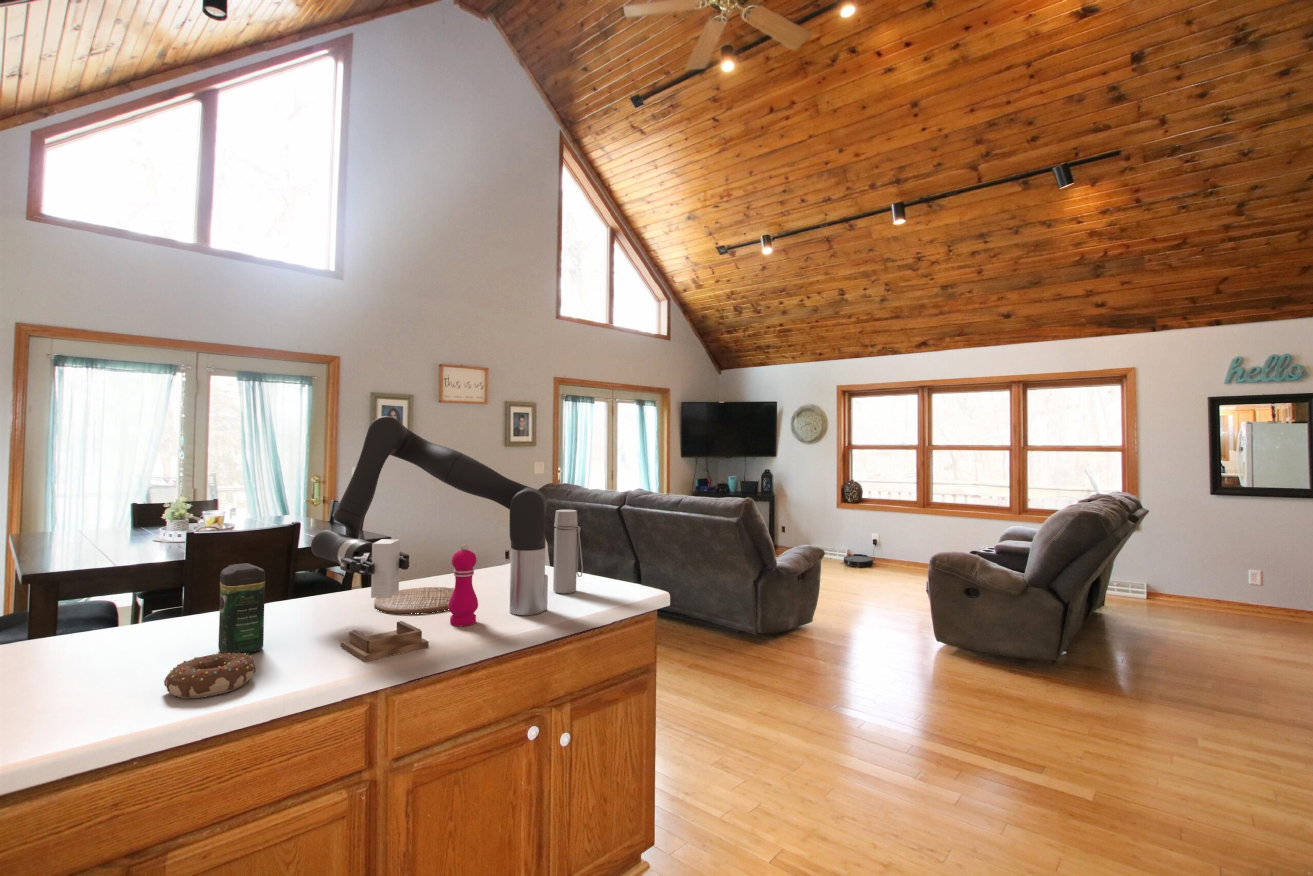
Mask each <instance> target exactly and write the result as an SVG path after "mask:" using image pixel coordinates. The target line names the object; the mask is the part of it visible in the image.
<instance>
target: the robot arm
mask: <svg viewBox="0 0 1313 876" xmlns="http://www.w3.org/2000/svg"><path fill="white" fill-rule="evenodd" d="M390 456H392V457H395V458H397V459H401V460H402V461H406V462H408V463H411V464H413V465H415V466H416V467H418V468H420V469H422V470H423V471H425V472H426V473H427V474H429V475H430V476H432V477H434V478H435V479H436V480H437V479H438V481H441V482H443V483H444V484H446V485H448V486H451V488H454V489H457V490H458V491H461V492H464V493H467V494H470V495H473V496H476V497H479V498H483V499H487V500H490V501H492V502H495V503H498V504H499V505H501V506H503V507H504V508H506V509H508V510H509V540H510V569H509V570H510V579H509V613H510V614H512V615H516V614H517V615H516V616H533V614H534V615H538V614H542V613H543V612H545V611H548V593H549V592H548V589H549V588H548V581H549V579H548V578H549V577H548V574H546V569H545V568H546V535H545V533H546V532H545V515H546V514H545V513H546V512H547V509H548V500H547V498H546V496H545V494H544V493H543V492H542V491H541V490H539V489H537V488H533V487H531V486H527V485H526V484H522V483H520V482H517V481H515V480H512V479H510V478H507V477H506V476H504V475H502V474H500V473H499V472H498V471H496V470H495V469H492V468H491V467H489V466H487V465H486V464H484V463H482V462H480V461H479V460H476V458H473V457H471V456H469V455H467V454H465V453H462V452H461V451H457V450H455V449H452V448H450V447H447V446H445V445H444V446H443V445H440V444H436V443H433V442H431V441H429V440H427V439H424V438H423V437H421V436H420V435H418V434H417V433H414V432H413V431H411V429H408V428H407V427H406V426H405V424H403V423H402V422H400V421H399V420H398V419H397V418H395V417H393V416H390V415H383V416H382V415H381V416H379V417H377V418H375V419H374V420H373V421H372V422H371V423H370V425H369V427H368V429H367V432H366V436H365V438H364V443H363V446H362V449H361V452H360V456H359V458H358V461H357V464H356V467H355V469H354V472H353V473H352V476H351V478H350V481H349V482H348V485H347V487H346V489H345V491H344V494H343V495H342V497H341V499H340V501H339V503H338V505H337V507H336V510H335V512H334V514H333V519H334V521H336V522H337V523H339V524H340V525H342V526H343V527H344V528H345V534H343V533H340V532H337V531H334V530H330V529H324V530H321V531H319V532H318V533H316V534H315V535H314V536H313V538H312V540H311V543H310V549H311V552H312V554H313V555H314V556H316V557H317V558H320V559H321V558H322V559H325V560H328V561H331V562H334V563H337V564H338V565H340V570H341V571H344V572H346V573H350V574H358V575H363V576H367V575H372V574H374V569H375V565H374V564H373V563H372V544H373V543H374V542H372V541H367V540H365V539H361V538H360V534H361V529H362V524H363V521H364V519H365V517H366V515H367V513H368V512H369V509H370V506H371V504H372V503H373V499H374V496H375V494H376V489H377V486H378V482H379V478H380V475H381V471H382V469H383V467H384V465H385V462H386V461H387V459H388V457H390ZM409 568H410V554H408V553H405V552H402V551H400V552H399V569H401V570H408V569H409Z"/></svg>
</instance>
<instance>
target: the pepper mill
mask: <svg viewBox="0 0 1313 876" xmlns="http://www.w3.org/2000/svg"><path fill="white" fill-rule="evenodd" d="M468 549H469V546H468V544H467V543H463V544H462V545H460V550H458V551H456V552H455V553H454V554H453V555H452V557H451V565H452V567H453V568H454V569H453V572H454V573H453V577H455V578H454V579H455V583H454V591H453V594H452V596H451V598H450V601H449V606H448V608H449V610H448V611H449V612H450V613H451V614H452V615H451V616H450V617H449V619H450V620H449V624H450V625H451V626H453V625H455V626H454V627H467V626H466V625H468V626H472V625H473V624H474V625H475V624H476V621H477V615H476V614H475V613H476V611H477V610H478V608H479V600H478V596H477V594H476V591H475V589H474V586H473V576H474V575H475V572H474V571H475V569H474V567H475V566H476V564H477V556H476V554H475V553H474V551H472V550H468ZM471 624H472V625H471Z"/></svg>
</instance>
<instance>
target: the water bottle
mask: <svg viewBox="0 0 1313 876" xmlns="http://www.w3.org/2000/svg"><path fill="white" fill-rule="evenodd" d="M577 512H578V510H577V509H558V510H557V509H556V510H555V513H554V515H555V516H554V524H553V527H554V530H553V538H554V539H553V584H552V585H553V586H552V587H553V588H552V590H553V592H555V593H556V594H559V593H561V594H560V595H565V594H566V593H569V594H572V592H573V593H574V592H576V591H577V577H578V578H581V577H582V576H583V571H584V570H583V569H584V566H583V555H582V553H583V552H582V546H581V545H582V544H581V543H582V542H581V536H580V534H581V533H580V532H581V526H578V525H579V523H578V513H577ZM579 549H580V550H579ZM579 551H580V553H579ZM579 554H580V564H581V565H580V566H581V570H580V575H579V573H578V572H579ZM566 595H567V594H566Z"/></svg>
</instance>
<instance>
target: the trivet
mask: <svg viewBox="0 0 1313 876" xmlns="http://www.w3.org/2000/svg"><path fill="white" fill-rule="evenodd" d="M454 588H455V587H454ZM454 588H453V587H444V586H441V587H440V586H439V587H438V586H432V587H431V586H430V587H427V586H423V587H412V588H411V587H410V588H405V589H399V591H398V592H397V593H395V594H394V595H393V596H392V597H390V598H374V601H373V603H374V604H373V605H374V606H373V607H374V609H375V610H376V609H377V610H376V611H378V610H379V611H378V612H380V611H382V612H381V613H384V612H386V613H385V614H390V613H394V614H393V615H402V614H411V613H412V614H414V615H422V614H421V613H428V614H433V613H432V612H436V613H438V612H437V611H442V612H445V611H444V610H447V611H449V610H448V609H449V608H448V606H449V601H450V598H451V596H452V594H453V591H454ZM415 613H416V614H415ZM417 613H419V614H417Z"/></svg>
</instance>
